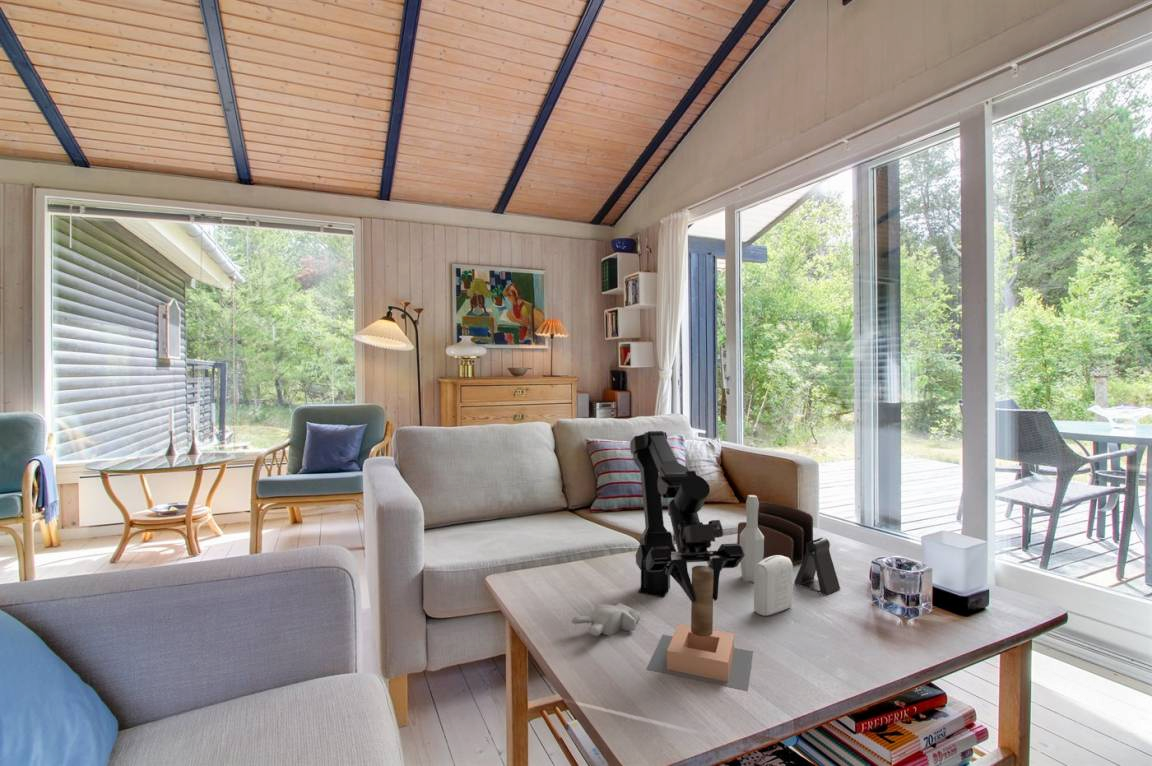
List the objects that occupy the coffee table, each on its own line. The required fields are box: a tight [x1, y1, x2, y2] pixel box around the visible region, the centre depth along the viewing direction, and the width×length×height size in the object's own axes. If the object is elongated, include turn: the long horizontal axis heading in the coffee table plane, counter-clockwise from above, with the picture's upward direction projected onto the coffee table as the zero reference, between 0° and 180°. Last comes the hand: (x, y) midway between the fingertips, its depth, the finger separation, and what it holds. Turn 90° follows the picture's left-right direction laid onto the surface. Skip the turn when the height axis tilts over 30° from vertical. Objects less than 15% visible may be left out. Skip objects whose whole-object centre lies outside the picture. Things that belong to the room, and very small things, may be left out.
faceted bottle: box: [740, 494, 764, 583], centre depth 146 cm, size 6×6×22 cm
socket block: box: [667, 624, 735, 682], centre depth 106 cm, size 11×11×4 cm
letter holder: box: [736, 500, 814, 567], centre depth 166 cm, size 10×20×14 cm, turn 33°
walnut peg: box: [690, 565, 714, 637], centre depth 106 cm, size 4×4×12 cm
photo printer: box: [753, 555, 794, 617], centre depth 128 cm, size 10×4×12 cm, turn 123°
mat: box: [646, 634, 754, 692], centre depth 106 cm, size 18×14×1 cm
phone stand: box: [793, 537, 841, 596], centre depth 142 cm, size 9×6×12 cm, turn 35°
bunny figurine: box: [571, 602, 641, 637], centre depth 118 cm, size 10×5×15 cm
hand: (704, 600), depth 104 cm, fingers closed on walnut peg, 4 cm apart
